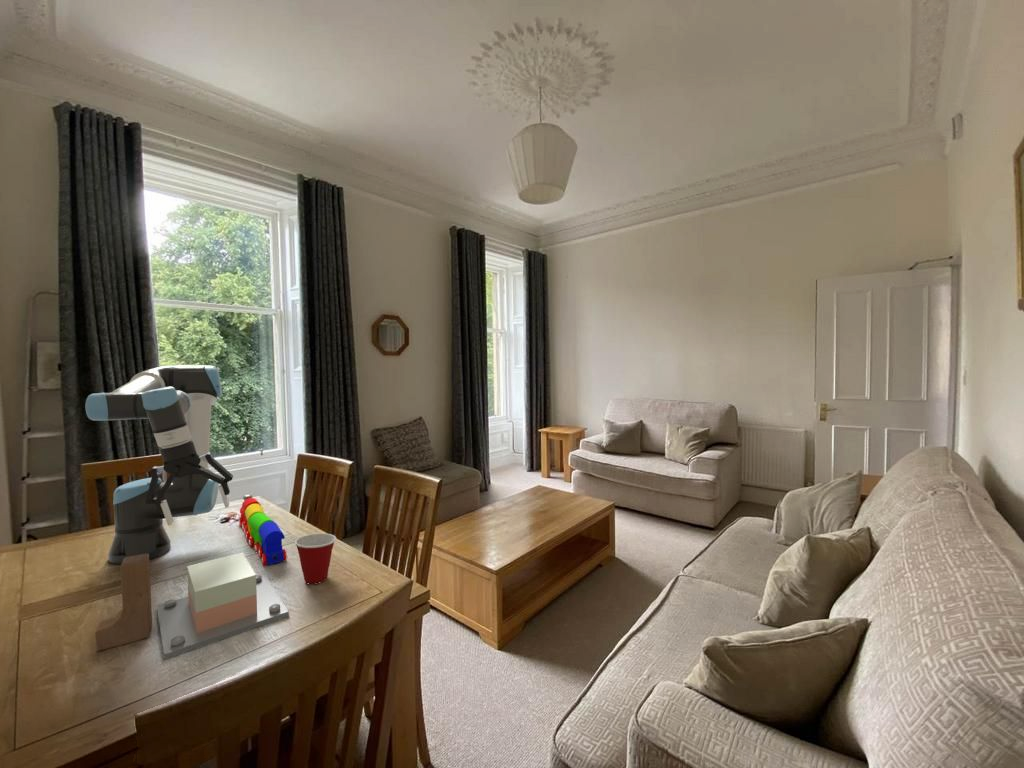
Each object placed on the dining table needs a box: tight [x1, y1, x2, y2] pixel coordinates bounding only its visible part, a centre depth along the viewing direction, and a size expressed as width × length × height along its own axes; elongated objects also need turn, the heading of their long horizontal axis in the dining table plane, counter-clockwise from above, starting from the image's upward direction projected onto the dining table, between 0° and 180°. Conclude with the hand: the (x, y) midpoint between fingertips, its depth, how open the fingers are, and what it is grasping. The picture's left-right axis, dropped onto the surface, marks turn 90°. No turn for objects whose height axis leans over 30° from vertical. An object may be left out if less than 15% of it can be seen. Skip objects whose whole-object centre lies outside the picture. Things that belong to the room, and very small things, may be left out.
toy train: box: [238, 494, 288, 567], centre depth 151 cm, size 45×7×11 cm, turn 42°
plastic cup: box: [294, 533, 337, 585], centre depth 126 cm, size 11×11×12 cm
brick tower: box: [156, 552, 290, 661], centre depth 109 cm, size 24×24×11 cm
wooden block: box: [95, 553, 153, 652], centre depth 98 cm, size 9×4×18 cm, turn 124°
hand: (199, 514), depth 125 cm, fingers open, 13 cm apart
